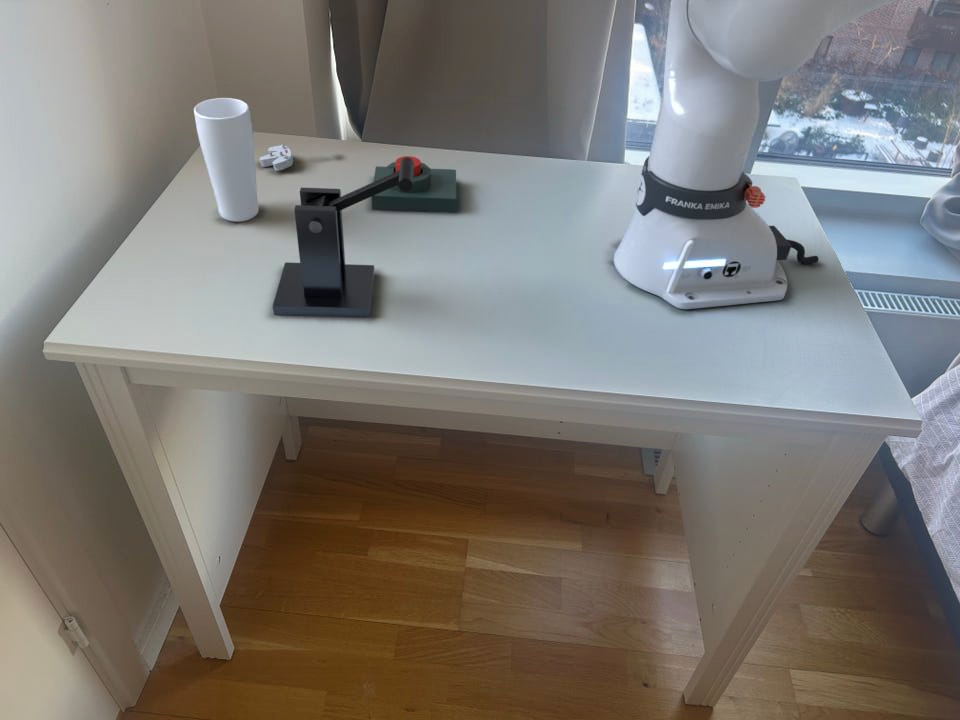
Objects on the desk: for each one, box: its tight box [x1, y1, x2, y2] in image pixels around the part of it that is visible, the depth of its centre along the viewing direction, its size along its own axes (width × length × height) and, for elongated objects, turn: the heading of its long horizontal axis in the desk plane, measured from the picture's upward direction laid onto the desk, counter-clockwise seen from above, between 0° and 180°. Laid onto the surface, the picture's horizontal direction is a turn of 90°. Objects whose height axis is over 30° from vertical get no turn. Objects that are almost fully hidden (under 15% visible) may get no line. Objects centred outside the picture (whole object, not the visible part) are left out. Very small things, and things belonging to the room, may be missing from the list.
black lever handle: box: [305, 157, 414, 212], centre depth 81 cm, size 13×5×2 cm, turn 92°
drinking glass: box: [193, 97, 260, 223], centre depth 98 cm, size 7×7×15 cm
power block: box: [370, 161, 458, 213], centre depth 108 cm, size 12×9×4 cm
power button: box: [395, 155, 422, 177], centre depth 106 cm, size 4×4×2 cm
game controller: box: [259, 143, 338, 172], centre depth 115 cm, size 6×12×3 cm, turn 129°
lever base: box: [272, 186, 375, 318], centre depth 86 cm, size 11×9×13 cm
